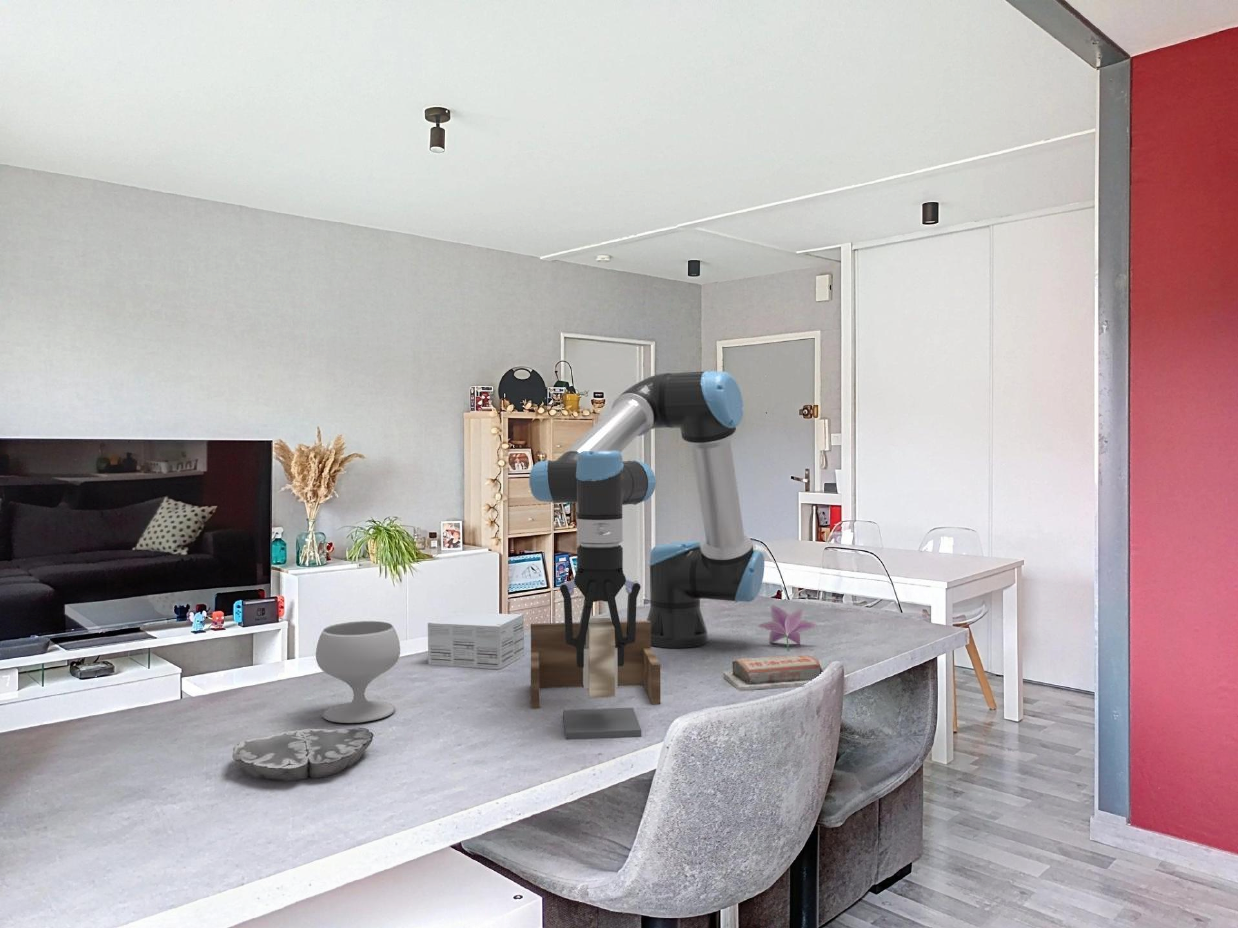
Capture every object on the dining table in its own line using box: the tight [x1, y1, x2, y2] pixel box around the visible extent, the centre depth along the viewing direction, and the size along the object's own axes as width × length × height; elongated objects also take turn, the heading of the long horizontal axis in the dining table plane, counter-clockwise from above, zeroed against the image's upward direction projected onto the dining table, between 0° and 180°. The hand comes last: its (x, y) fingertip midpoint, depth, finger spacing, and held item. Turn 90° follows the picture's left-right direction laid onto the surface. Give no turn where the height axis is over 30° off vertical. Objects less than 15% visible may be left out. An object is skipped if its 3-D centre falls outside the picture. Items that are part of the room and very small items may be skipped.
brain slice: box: [232, 727, 374, 782], centre depth 129 cm, size 20×17×3 cm
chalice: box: [315, 620, 401, 724], centre depth 153 cm, size 14×14×15 cm
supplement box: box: [427, 611, 525, 670], centre depth 192 cm, size 17×13×9 cm
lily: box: [758, 604, 819, 652], centre depth 202 cm, size 12×12×10 cm
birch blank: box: [586, 617, 616, 699], centre depth 146 cm, size 4×9×11 cm, turn 5°
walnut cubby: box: [530, 620, 662, 709], centre depth 165 cm, size 14×23×12 cm, turn 95°
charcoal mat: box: [562, 707, 642, 740], centre depth 147 cm, size 12×12×1 cm
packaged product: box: [722, 654, 824, 692], centre depth 173 cm, size 18×5×10 cm
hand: (600, 685), depth 146 cm, fingers closed on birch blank, 4 cm apart
